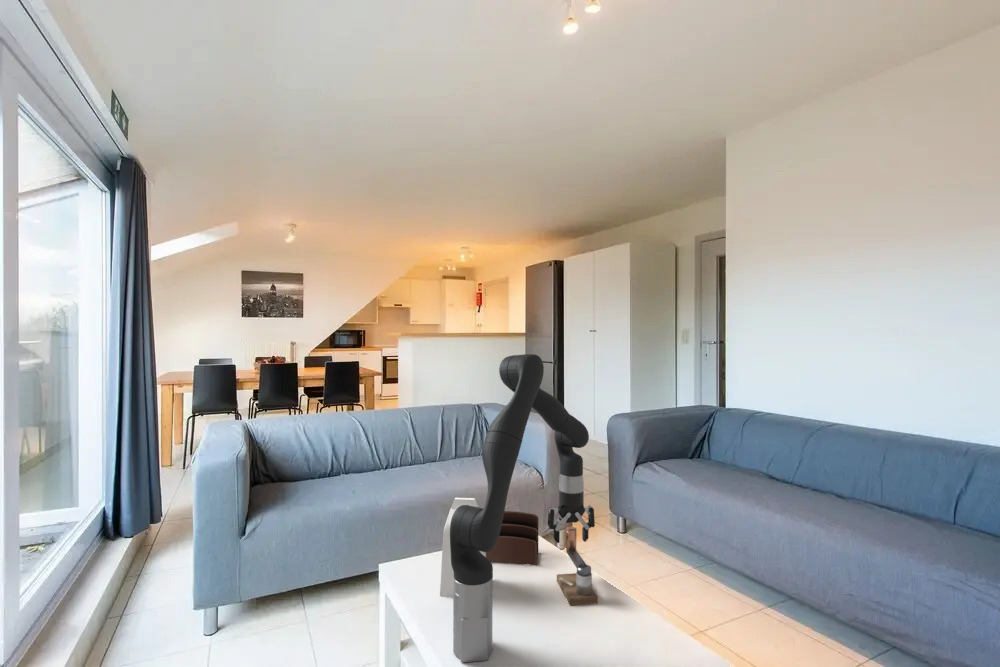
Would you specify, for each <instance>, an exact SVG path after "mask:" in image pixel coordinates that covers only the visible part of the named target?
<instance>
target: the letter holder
mask: <svg viewBox="0 0 1000 667" xmlns="http://www.w3.org/2000/svg"><path fill="white" fill-rule="evenodd" d="M486 558H487V559H488V560H489V561H490V562H491V563H492V564H493V563H495V564H509V563H510V564H513V565H524V564H530V565H529V566H537V565H538V559H539V516H538V515H536V514H535V513H529V512H523V511H513V510H510V511H509V510H504V516H503V521H502V526H501V530H500V534H499V538H498V540H497V543H496V545H495V546H494V548H493V549H492V550H491V551H489V552H486Z"/></svg>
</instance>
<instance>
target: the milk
mask: <svg viewBox="0 0 1000 667" xmlns="http://www.w3.org/2000/svg"><path fill="white" fill-rule="evenodd" d="M462 505H469V506H474V507H479V505H478V503H477V500H476V498H474V497H454V500H453V501H452V504H451V506H450V509H449V513H448V515H447V518H446V521H445V525H444V527H443V532H442V533H443V534H442V551H441V567H440V568H441V570H440V584H439V585H440V587H439V597H448V596H453V597H452V598H454V571H453V569H452V565H451V551H450V524H451V519H452V516H453V514H454V512H455V510H456V509H457V508H458V507H460V506H462ZM480 552H481V554H483V555H484V556H485V557H486V552H482V551H480Z"/></svg>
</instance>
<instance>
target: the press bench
mask: <svg viewBox="0 0 1000 667" xmlns="http://www.w3.org/2000/svg"><path fill="white" fill-rule="evenodd" d="M592 581H593V573H592V572H591V575H589V576H581V575H579V574H577V571H576V573H575V572H574V573H573V572H572V573H558V574H556V582H557V585H558V586H559V588H560V590H561V592H562V594H563V595H564V598H565V600H566V599H567V600H566V602H567V601H568V602H567V604H568V605H569V606H581V605H582V606H583V604H584V605H594V603H598V602H599V601H598V597H599V596H598V595H597V593H596V592H595V590H594V588H593V584H592V583H593V582H592Z"/></svg>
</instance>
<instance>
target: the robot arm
mask: <svg viewBox="0 0 1000 667" xmlns="http://www.w3.org/2000/svg"><path fill="white" fill-rule="evenodd" d="M544 368H545V367H544V362H543V360H542V358H541V356H539V355H537V354H534V353H527V354H526V353H525V354H524V353H523V354H513V355H509V356H505V357H504V358H503V359H502V360H501V362H500V364H499V367H498V370H499V371H498V372H499V378H500V380H501V381H502V383H503V384H504V385H505V386H506V387H507V388H508V389H509V390H510V391H512V392H513V395H512V397H511V399H510V401H509V402H508V403H507V405H505V406H504V407H503V409H502V410H501V411H500V412H499V413H498V414H497V416H495V417H494V419H493V420H492V421H491V423H490V425H489V426H488V429H487V432H486V435H485V438H484V441H483V445H482V448H481V458H482V465H483V467H484V471H485V472H484V473H485V475H486V479H487V494H486V500H485V503H484V507H483V508H482V507H479V506H478V507H474V506H469V505H462V506H460V507H458V508H457V509H456V510H455V512H454V514H453V516H452V519H451V524H450V551H451V565H452V569H453V571H454V597H453V609H452V610H453V612H452V613H453V617H452V618H453V620H452V621H453V626H452V628H453V629H452V633H453V634H452V635H453V636H452V638H453V640H452V641H453V642H452V643H453V648H452V650H453V653H454V655H455V656H456V657H457V658H458V659H459V660H460V662H461V663H468V662H469V663H470V662H482V661H488V660H489V656H490V655H491V654H492V652H493V607H494V606H493V604H494V603H493V595H494V594H493V589H494V588H493V586H494V585H493V579H494V578H493V576H494V575H493V574H494V572H493V571H494V568H493V563H492V562H490V561H489V560H488V559H487V558H486V557H485V556H484V555H483V554H481V552H480V551H482V552H489V551H491V550H492V549H493V548H494V546H495V545H496V543H497V540H498V538H499V534H500V530H501V526H502V521H503V516H504V511H506V510H505V509H506V504H507V499H508V494H509V491H510V490H509V489H510V486H511V480H512V478H513V474H514V471H515V467H516V464H517V461H518V458H519V454H520V450H521V447H522V444H523V438H524V434H525V431H526V429H527V424H528V420H529V417H530V414H531V410H532V409H534V411H536V412H537V414H538V415H539V416H540V418H542V420H544V421H545V423H546V424H547V425H548V426H549V428H550V429H552V430H553V431H554V434H553V435H554V443H555V445H556V450H557V454H558V457H559V458H558V459H559V478H558V479H559V480H558V507H555V508H553V507H552V506H549V508H548V511H547V512H548V514H547V527H548V528H549V529H550V530H553V539H554V541H555V542H556V544H560V542H561V541H560V536H561V535H560V532H561V531H560V529H561V528H562V526H565V524H566V523H567V524H569V523H570V524H571V523H578V522H579V523H580V524H581V525H582V528H581V529H582V530H581V531H582V534H581V536H582V541H583V542H586V543H587V542H588V540H589V530H590V529H591V528H595V526H596V524H595V509H594V508H593V506H592V505H591V504H589V505H588V506H584V504H585V503H584V497H585V496H584V495H585V493H584V490H585V489H584V487H585V486H584V483H585V482H584V459H583V457H582V455H580V454H579V453H576V452H575V451H574V450H573V448H576V449H581V448H584V447H585V446H586V445H587V444H588V442H589V439H590V436H589V431H588V429H587V427H586V426H585V424H584V423H583V422H581V421H580V420H579V419H577V418H576V417H575V416H573V415H572V414H571V413H569V411H568V410H567V409H566V407H565V406H564V405H563V404H562V403H561V402H560V400H558V398H556V397H555V396H553V395H552V394H550V393H549V392H547V391H545V390H543V389H542V388H540V387H541V384H542V381H543V379H544V374H545V372H544V371H545V369H544ZM585 513H586V514H587V520H588V522H587V521H586V520H584V518H583V515H584V514H585ZM557 514H558V515H559V516H558V518H557V519H556V521H555V517H556V515H557ZM554 521H555V522H554Z"/></svg>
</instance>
